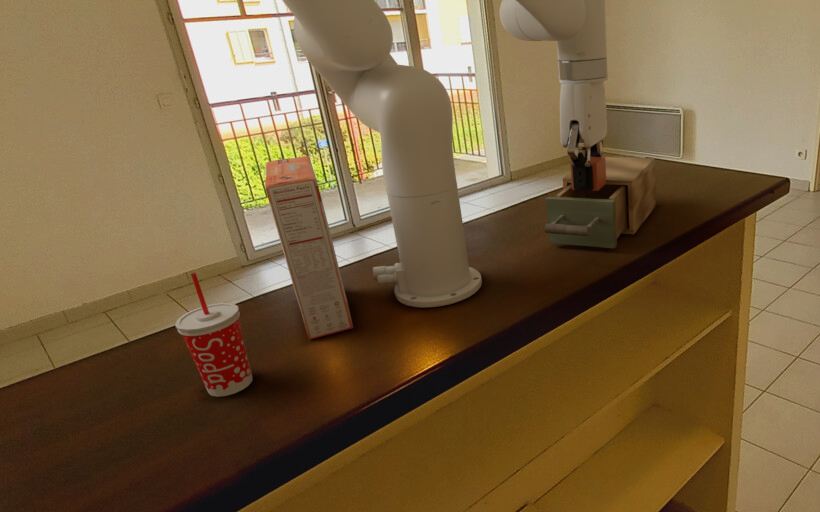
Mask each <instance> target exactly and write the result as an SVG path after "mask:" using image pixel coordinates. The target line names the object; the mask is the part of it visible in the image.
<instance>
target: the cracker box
mask: <svg viewBox="0 0 820 512" xmlns="http://www.w3.org/2000/svg"><path fill="white" fill-rule="evenodd" d="M264 183H265V184H264V188H265V193H266V195H267V199H268V202H269V203H268V204H269V207H270V210H271V214H272V217H273V221H274V224H275V228H276V231H277V235H278V238H279V241H280V245H281V249H282V252H283V256H284V259H285V263H286V266H287V269H288V273H289V277H290V279H291V283H292V287H293V290H294V293H295V296H296V301H297V304H298V306H299V310H300V313H301V316H302V321H303V325H304V328H305V331H306V334H307V337H308V340H314V339H319V338H322V337H325V336H328V335H333V334H337V333H341V332H344V331H345V332H346V331H349V330H352V329H354V325H353V321H352V315H351V311H350V307H349V303H348V299H347V294H346V291H345V287H344V283H343V279H342V278H343V277H342V274H341V271H340V267H339V266H340V265H339V262H338V259H337V254H336V250H335V246H334V242H333V238H332V233H331V231H330V227H329V222H328V218H327V214H326V211H325V206H324V203H323V198H322V195H321V191H320V187H319V184H318V180H317V177H316V174H315V170H314V167H313V165H312V162H311V158H310V156H309V155H304V156H297V157H291V158H290V157H289V158H281V159H275V160H270V161H267V162H265V182H264Z"/></svg>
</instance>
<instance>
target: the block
mask: <svg viewBox="0 0 820 512" xmlns="http://www.w3.org/2000/svg"><path fill="white" fill-rule="evenodd" d="M605 157H606V156H603V157H590V166H592V170H593V190H592V191H598V190H599V189H601V188H602V187H603V186H604V185H605V184H606V162H605ZM569 164H570V172H571V180H572V190H575V189H574V183H573V167H572V165H571V162H570V163H569Z"/></svg>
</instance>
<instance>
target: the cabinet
mask: <svg viewBox="0 0 820 512" xmlns="http://www.w3.org/2000/svg"><path fill="white" fill-rule="evenodd" d="M604 157H605V162H606V184H609V185H628V207H629V225H628V226H627V227H626V228H625V230H624V231H623V232H622V233H621V234H620V235H635V233H636V232H637V231H638V230H639V229H640V227H641V226H642V224H643V223H644V222H645V221H646V220H647V218H648V217H649V216H650V214H651V213H652V212H653V210H654V209H655V208H656V206H657V203H656V202H657V200H656V198H657V195H656V158H655V157H631V156H630V157H629V156H628V157H625V156H619V157H618V156H604ZM571 183H572V180H571V171H570V172H569V173H568V174H566V175H565V176H563V177H562V190H564V189H565V188H566V187H568V186H569V185H570V184H571Z"/></svg>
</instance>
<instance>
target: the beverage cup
mask: <svg viewBox="0 0 820 512" xmlns="http://www.w3.org/2000/svg"><path fill="white" fill-rule="evenodd" d="M190 276H191V279H192V282H193V285H194V289H195V291H196V295H197V297H198V300H199V303H200V305H201V306H200V307H197V308H195V309H192V310H189V311H187V312H186V313H184V314H182V315H181V316H180V317H179V318H178V319H176V320H175V324H174V325H175V329H176V330H177V333H179V334H180V335H181V336H182V338H183V340H184V342H185V344H186V347H187V349H188V351H189V353H190V355H191V358H192V360H193V362H194V364H195V366H196V369H197V371H198V373H199V375H200V378H201V380H202V382H203V384H204V387H205V389H206V391H207V394H209V395H210V396H211V397H217V398H218V397H227V396H231V395H234V394H237V393H239V392H241V391H243V390H244V389H246V388H248V387H249V386H250V384H252V382H253V374H252V370H251V369H252V368H251V365H250V362H249V357H248V352H247V347H246V344H245V339H244V335H243V331H242V326H241V322H240V318H241V317H240V316H241V313H240V308H239V306H238V305H237V304H235V303H231V302H218V303H217V302H216V303H211V304H207V302H206V300H205V296H204V293H203V290H202V288H201V284H200V281H199V279H198V274H197V273H196V272H191V273H190Z"/></svg>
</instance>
